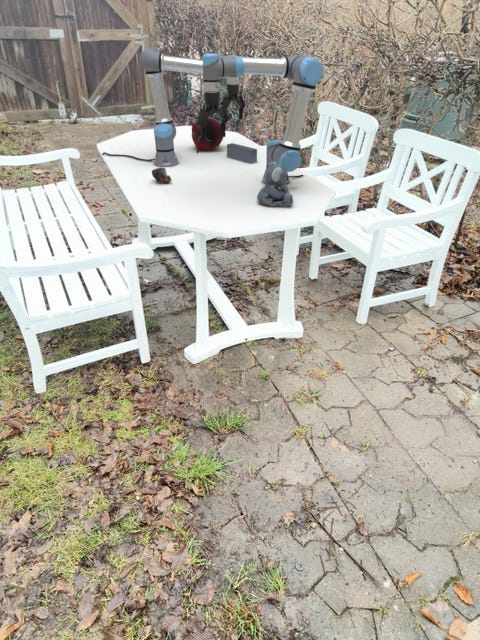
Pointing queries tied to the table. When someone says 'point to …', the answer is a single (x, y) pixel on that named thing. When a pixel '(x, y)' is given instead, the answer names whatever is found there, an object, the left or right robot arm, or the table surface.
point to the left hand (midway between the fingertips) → (233, 120)
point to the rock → (161, 175)
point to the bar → (242, 153)
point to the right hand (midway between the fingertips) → (213, 139)
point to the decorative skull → (207, 135)
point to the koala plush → (275, 188)
